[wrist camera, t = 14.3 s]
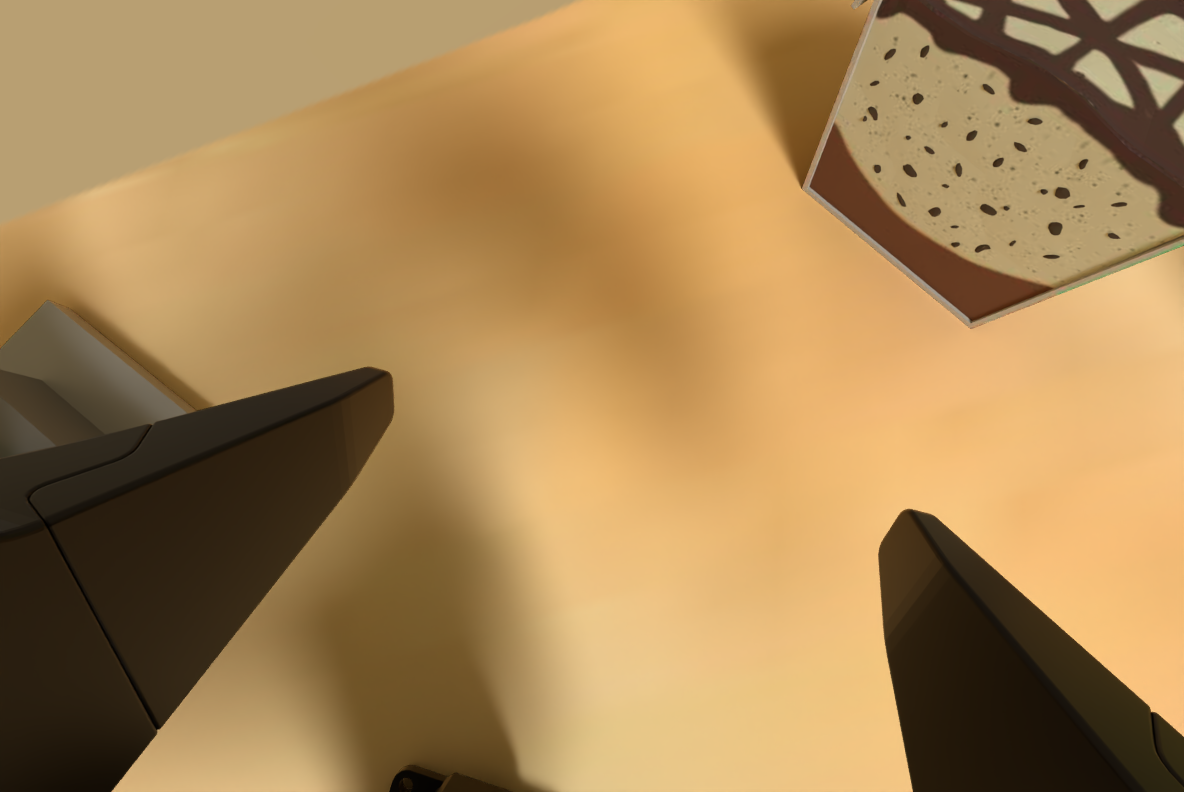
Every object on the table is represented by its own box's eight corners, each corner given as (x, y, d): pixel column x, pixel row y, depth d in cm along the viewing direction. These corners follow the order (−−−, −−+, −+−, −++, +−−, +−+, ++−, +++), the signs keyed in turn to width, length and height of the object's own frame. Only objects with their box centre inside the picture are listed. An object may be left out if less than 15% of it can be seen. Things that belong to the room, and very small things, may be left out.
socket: (293, 489, 22) (225, 481, 18) (36, 805, 20) (-105, 873, 16) (69, 308, 25) (-33, 267, 21) (-184, 572, 22) (-354, 582, 18)
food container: (1091, 258, 23) (1436, 65, 13) (1000, 353, 22) (1297, 220, 13) (866, 88, 26) (1020, -180, 16) (777, 168, 25) (881, -63, 15)
